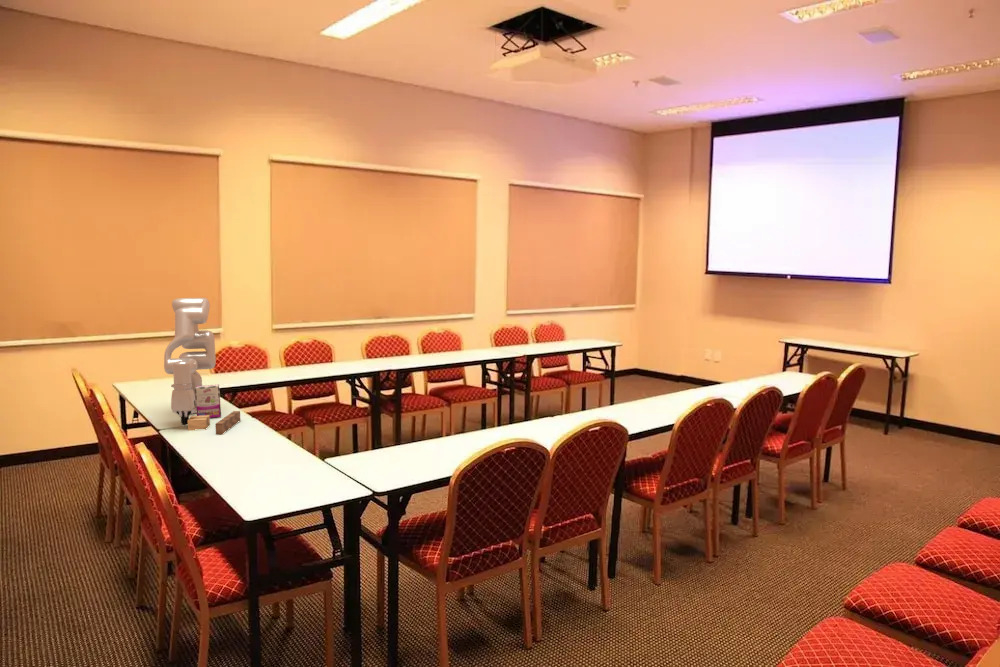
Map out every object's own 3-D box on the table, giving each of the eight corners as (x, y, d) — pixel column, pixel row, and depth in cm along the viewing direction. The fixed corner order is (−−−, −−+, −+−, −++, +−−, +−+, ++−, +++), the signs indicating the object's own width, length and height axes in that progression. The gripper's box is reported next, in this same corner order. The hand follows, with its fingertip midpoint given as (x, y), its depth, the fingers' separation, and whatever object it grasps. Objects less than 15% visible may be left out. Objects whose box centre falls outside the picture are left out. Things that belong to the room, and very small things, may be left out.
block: (192, 426, 320) (191, 416, 319) (209, 425, 322) (209, 415, 321) (188, 430, 312) (187, 420, 312) (206, 429, 314) (205, 419, 313)
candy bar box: (221, 415, 340) (219, 384, 338) (221, 417, 335) (219, 385, 333) (197, 417, 336) (195, 385, 334) (196, 419, 331) (195, 387, 329)
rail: (234, 420, 329) (233, 411, 329) (240, 420, 329) (239, 411, 329) (215, 434, 306) (215, 423, 305) (222, 434, 306) (221, 423, 305)
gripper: (163, 388, 310) (165, 426, 312) (195, 388, 310) (197, 426, 313) (170, 385, 317) (172, 422, 320) (202, 385, 318) (204, 422, 320)
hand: (185, 424), depth 316 cm, fingers closed
